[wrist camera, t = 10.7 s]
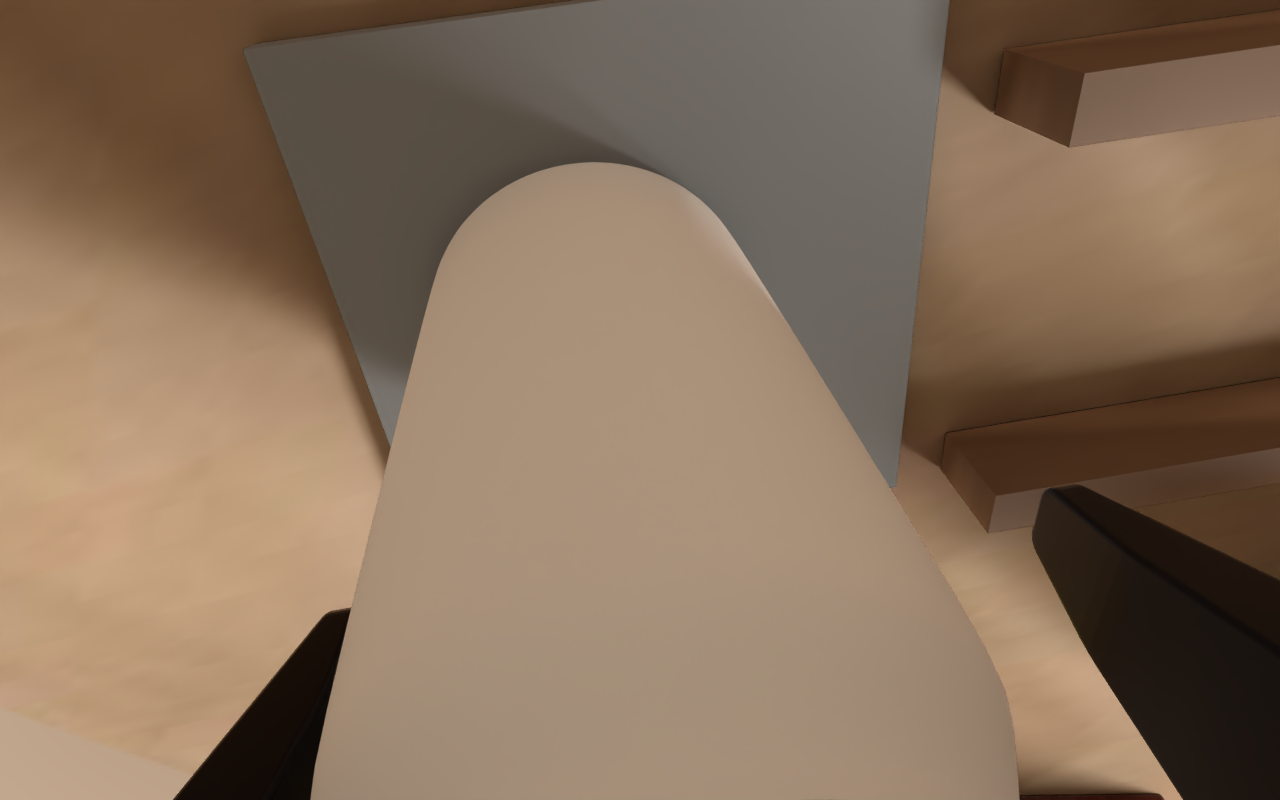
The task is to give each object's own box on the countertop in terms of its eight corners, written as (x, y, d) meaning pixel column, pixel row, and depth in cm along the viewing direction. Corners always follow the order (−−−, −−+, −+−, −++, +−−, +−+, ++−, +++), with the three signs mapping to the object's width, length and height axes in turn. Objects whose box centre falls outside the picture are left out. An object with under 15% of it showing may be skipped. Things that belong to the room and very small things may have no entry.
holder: (1328, 403, 21) (1417, 459, 19) (940, 468, 20) (987, 533, 18) (1541, -28, 15) (1706, -18, 13) (1003, 48, 14) (1084, 73, 12)
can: (361, 275, 15) (8, 1070, 5) (643, 81, 13) (992, 610, 3) (555, 481, 18) (590, 1196, 8) (794, 342, 17) (1191, 991, 7)
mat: (886, 472, 20) (895, 486, 19) (436, 547, 19) (434, 564, 19) (938, -50, 13) (954, -49, 13) (253, 43, 13) (242, 49, 12)
